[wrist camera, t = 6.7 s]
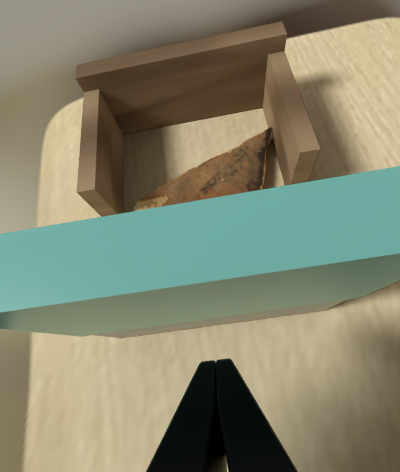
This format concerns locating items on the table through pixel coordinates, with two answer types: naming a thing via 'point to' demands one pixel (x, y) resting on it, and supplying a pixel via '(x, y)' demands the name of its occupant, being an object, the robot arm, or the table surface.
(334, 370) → the table surface
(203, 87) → the box
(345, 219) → the block
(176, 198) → the shard
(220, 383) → the robot arm
